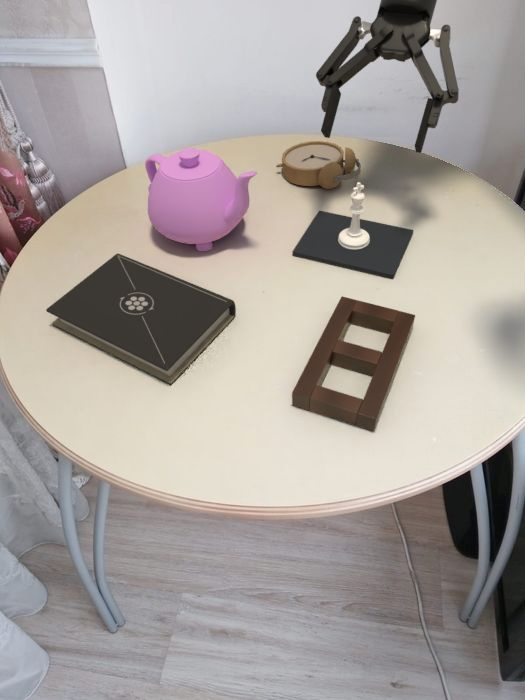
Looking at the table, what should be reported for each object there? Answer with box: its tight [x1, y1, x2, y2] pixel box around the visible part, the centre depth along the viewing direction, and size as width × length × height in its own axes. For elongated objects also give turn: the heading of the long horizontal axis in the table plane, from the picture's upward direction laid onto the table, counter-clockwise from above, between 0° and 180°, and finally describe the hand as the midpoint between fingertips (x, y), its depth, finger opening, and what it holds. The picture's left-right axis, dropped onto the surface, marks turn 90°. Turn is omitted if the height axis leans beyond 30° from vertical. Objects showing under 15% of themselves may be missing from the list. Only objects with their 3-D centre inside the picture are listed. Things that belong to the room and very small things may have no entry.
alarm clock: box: [275, 140, 362, 190], centre depth 102 cm, size 11×5×15 cm
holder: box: [291, 295, 416, 433], centre depth 71 cm, size 10×18×2 cm, turn 156°
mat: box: [292, 210, 414, 280], centre depth 89 cm, size 16×12×1 cm
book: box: [45, 253, 237, 386], centre depth 78 cm, size 22×15×3 cm
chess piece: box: [338, 181, 370, 250], centre depth 85 cm, size 5×5×10 cm
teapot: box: [144, 147, 258, 252], centre depth 88 cm, size 22×16×14 cm
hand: (370, 142), depth 80 cm, fingers open, 13 cm apart
